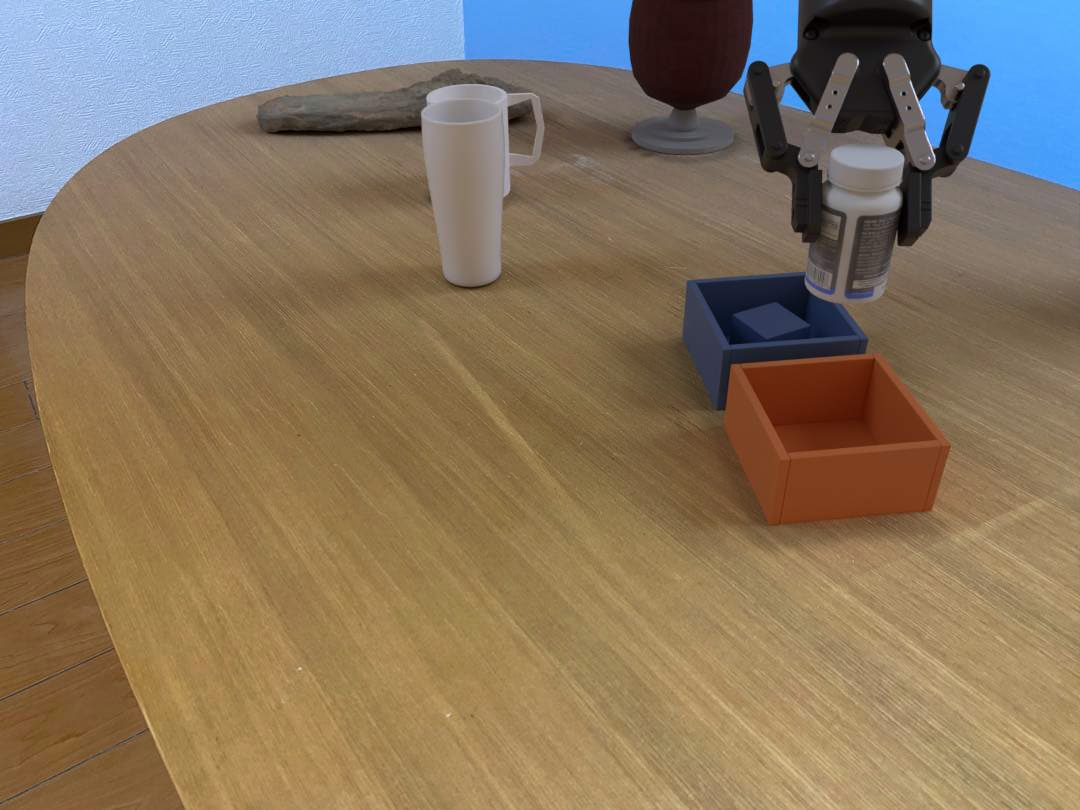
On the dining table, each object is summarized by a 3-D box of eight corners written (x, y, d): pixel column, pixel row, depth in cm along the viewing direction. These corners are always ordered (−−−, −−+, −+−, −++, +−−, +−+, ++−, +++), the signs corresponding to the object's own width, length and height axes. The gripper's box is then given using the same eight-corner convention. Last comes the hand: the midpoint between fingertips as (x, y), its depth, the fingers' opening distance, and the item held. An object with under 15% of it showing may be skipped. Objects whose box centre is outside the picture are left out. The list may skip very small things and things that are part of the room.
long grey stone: (268, 124, 124) (258, 155, 116) (258, 84, 120) (246, 113, 113) (532, 97, 125) (539, 126, 117) (529, 57, 121) (536, 84, 114)
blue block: (769, 346, 73) (775, 301, 70) (803, 371, 70) (811, 325, 68) (726, 359, 71) (732, 313, 69) (759, 385, 68) (766, 338, 66)
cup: (548, 201, 98) (547, 105, 92) (433, 206, 98) (425, 110, 92) (542, 172, 105) (541, 81, 99) (434, 177, 104) (427, 85, 98)
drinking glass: (424, 289, 83) (407, 121, 74) (448, 256, 88) (435, 95, 79) (498, 297, 81) (489, 126, 73) (518, 262, 87) (512, 99, 78)
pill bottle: (886, 276, 58) (914, 144, 53) (881, 312, 55) (911, 174, 50) (808, 265, 60) (828, 135, 55) (798, 300, 56) (819, 164, 51)
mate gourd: (666, 165, 106) (678, -27, 94) (603, 129, 116) (607, -48, 104) (775, 141, 112) (799, -43, 100) (706, 109, 122) (721, -61, 110)
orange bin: (864, 420, 66) (879, 352, 63) (930, 517, 57) (951, 444, 54) (722, 432, 65) (730, 363, 62) (768, 532, 57) (780, 459, 53)
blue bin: (805, 333, 76) (816, 270, 72) (854, 405, 67) (869, 338, 64) (681, 342, 75) (686, 279, 71) (715, 416, 66) (723, 349, 63)
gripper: (750, -75, 53) (739, 212, 50) (1015, -75, 51) (1019, 221, 49) (735, 3, 60) (725, 257, 58) (967, 5, 59) (968, 266, 56)
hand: (860, 239), depth 53 cm, fingers closed on pill bottle, 4 cm apart
